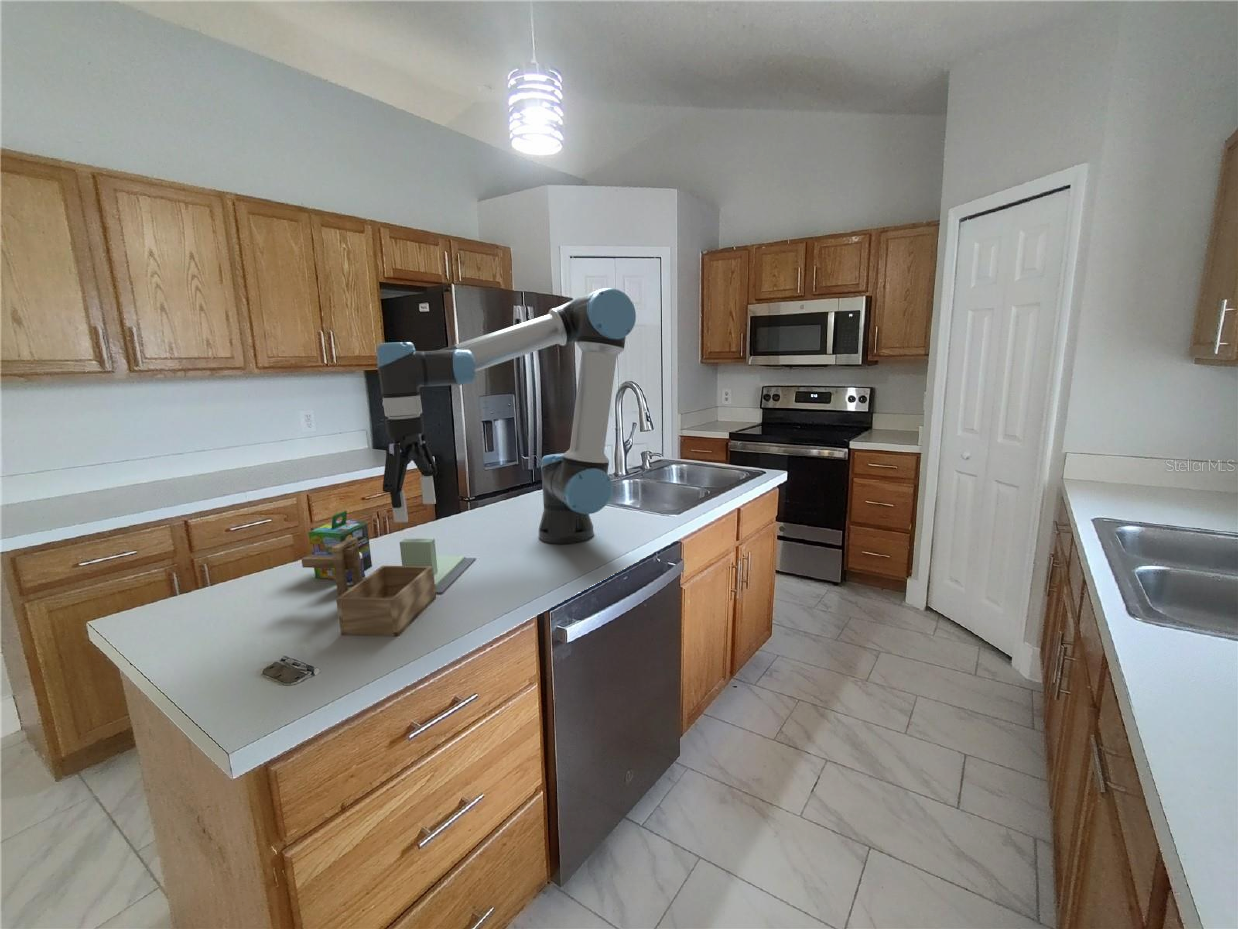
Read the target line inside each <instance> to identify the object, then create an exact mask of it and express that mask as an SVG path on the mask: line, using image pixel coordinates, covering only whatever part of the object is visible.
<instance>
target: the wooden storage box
mask: <svg viewBox="0 0 1238 929" xmlns="http://www.w3.org/2000/svg"><path fill="white" fill-rule="evenodd" d="M349 546H358V540H357V538H348V539H346V540H345V541H343V542H341V543H339V544H338V545H336V546H334V547H332V548H331V549H332V556H333V563H334V570H335V578H336V579H335V583H336V585H335V586H336V591H337V598H335V602H336V609H337V615H338V622H339V630H340V635H341V636H372V637H373V636H375V637H376V636H379V637H380V636H381V637H399V636H400V635H401V634H402V633H403V632H404V631H405V630H406V629H407V628H408V627H409V626H410V625H411V624H412V623H413V622H414V621H415V620H416V619H417V618H418V617H419V616H420V615H421V614H422V613H423V612H424V611H425V610H426V609H427V608H428V607H429V606H430V605H431V604H432V603H433V602H434V600H436V599H437V594H436V592H435V582H434V572H433V566H402V565H380V567H378V568H377V569H376V570H374V571H372V572H371V573H370V574H369V575H367V576H365V578H364V579H362V572H361V564H360V565H358V566H357V567H355V568H345V564H344V556H343V550H344V549H345V548H347V547H349ZM350 570H351V573H352V581H353V587H352V588H351V589H349V590H348V586H347V579H346V573H347V572H349V571H350Z"/></svg>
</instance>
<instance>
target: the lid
mask: <svg viewBox="0 0 1238 929" xmlns="http://www.w3.org/2000/svg"><path fill="white" fill-rule="evenodd" d="M435 540H436V539H435V538H403V539H402V540H400V541H399V548H400V559H401V560H400V561H401V566H433V572H434V582H435V589H437V588H438V587H439V586H440V585H441V584H442V583H443V582H444V581H445V580H446V579H447V578H448V577H449V576H450V575H451V574H452V573H453V572H454V571H455V570H456V569H457V568H458V567H459V566H460V565H461V564H462V563H463V562H464V561H465V558H466V555H456V556H455V555H437V551H436V550H437V549H436V541H435Z"/></svg>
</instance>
